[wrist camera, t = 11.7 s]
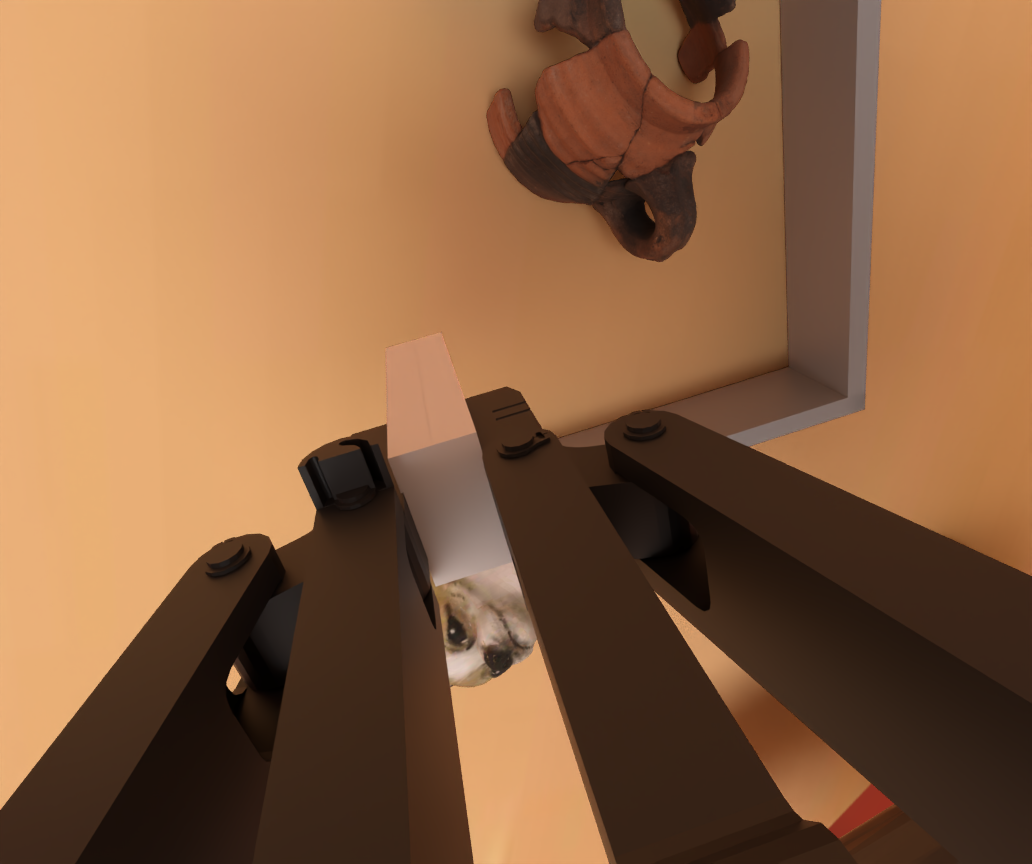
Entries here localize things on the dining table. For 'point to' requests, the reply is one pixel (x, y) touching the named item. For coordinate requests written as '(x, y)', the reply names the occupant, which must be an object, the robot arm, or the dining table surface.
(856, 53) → the walled box
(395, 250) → the dining table surface
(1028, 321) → the dining table surface
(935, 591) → the robot arm
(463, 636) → the ceramic sculpture
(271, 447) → the dining table surface
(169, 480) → the dining table surface
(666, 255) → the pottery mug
